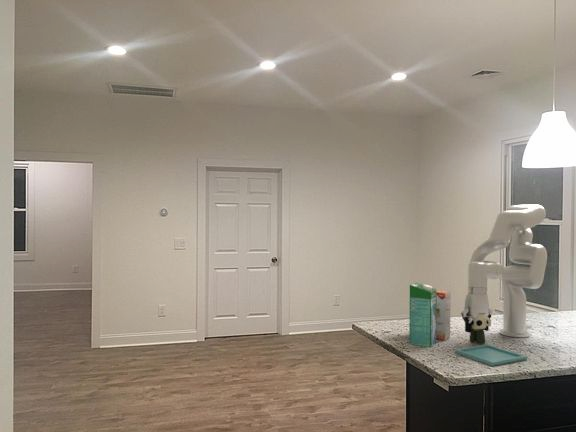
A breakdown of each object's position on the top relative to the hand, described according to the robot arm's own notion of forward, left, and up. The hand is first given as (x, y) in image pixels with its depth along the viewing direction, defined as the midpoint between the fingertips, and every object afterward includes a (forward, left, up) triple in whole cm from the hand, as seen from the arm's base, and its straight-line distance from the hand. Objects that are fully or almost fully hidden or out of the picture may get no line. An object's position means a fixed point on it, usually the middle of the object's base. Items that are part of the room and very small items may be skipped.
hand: (476, 331), depth 197 cm
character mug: (0, 0, -5) cm, 5 cm away
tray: (+11, +16, -5) cm, 20 cm away
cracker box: (+10, -16, -6) cm, 19 cm away
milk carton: (+21, -10, -5) cm, 23 cm away
